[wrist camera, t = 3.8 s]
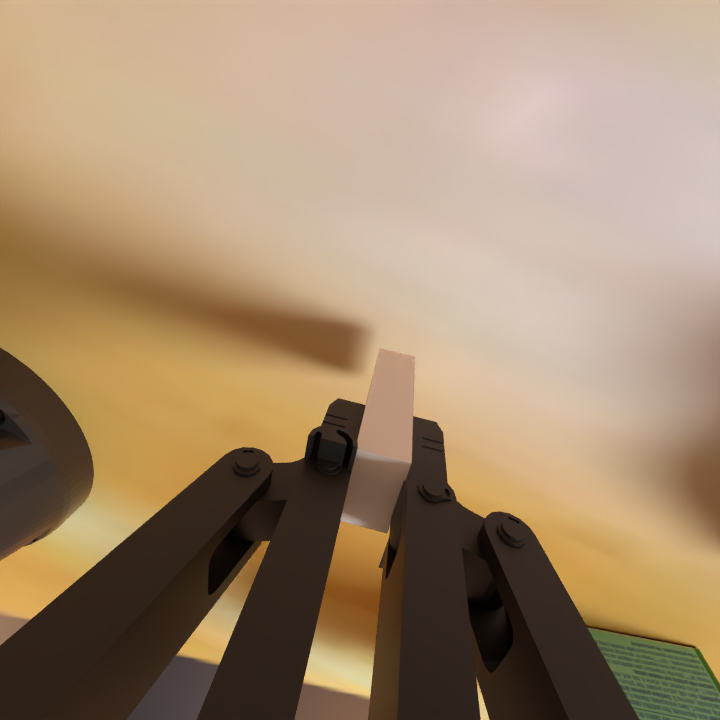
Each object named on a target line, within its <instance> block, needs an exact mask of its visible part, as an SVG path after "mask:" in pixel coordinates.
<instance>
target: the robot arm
mask: <svg viewBox="0 0 720 720" xmlns="http://www.w3.org/2000/svg"><path fill="white" fill-rule="evenodd" d="M414 369H415V357H412V356H408V355H404V354H400V353H396V352H392V351H388V350H384V349H379V353H378V357H377V361H376V365H375V369H374V373H373V377H372V381H371V385H370V389H369V393H368V397H367V401H366V405H363V404H359V403H355V402H351V401H347V400H343V399H339V398H338V399H337V400H336V401H334V402H333V403H331V404H330V405H329V408H328V410H327V413H326V415H325V418H324V420H323V423H322V425H321V426H319V427H317V428H315V429H313V430H312V431H311V433H310V434H309V435H308V441H307V447H306V452H305V458H303V459H301V460H299V461H295V462H290V463H273V461H272V459H271V458H270V456H269V455H268V454H267V453H265V452H264V451H262V450H260V449H256V448H247V447H243V448H239V449H235V450H232V451H231V452H229V453H227V454H226V455H224V456H223V457H222V458H221V459H220V460H218V461H217V462H216V463H215V464H214V465H213V466H211V467H210V468H209V469H208V470H207V471H205V472H204V473H203V474H202V475H201V476H200V477H198V478H197V479H196V480H195V481H194V482H193V483H191V484H190V485H189V486H188V487H187V488H185V489H184V490H183V491H182V492H181V493H180V494H178V495H177V496H176V497H175V498H174V499H172V500H171V501H170V502H169V503H168V504H167V505H165V506H164V507H163V508H162V509H161V510H160V511H158V512H157V513H156V514H155V515H154V516H152V517H151V518H150V519H149V520H148V521H147V522H145V523H144V524H143V525H142V526H141V527H139V528H138V529H137V530H136V531H135V532H134V533H132V534H131V535H130V536H129V537H128V538H127V539H125V540H124V541H123V542H122V543H121V544H119V545H118V546H117V547H116V548H115V549H114V550H112V551H111V552H110V553H109V554H108V555H106V556H105V557H104V558H103V559H102V560H101V561H99V562H98V563H97V564H96V565H95V566H94V567H92V568H91V569H90V570H89V571H88V572H86V573H85V574H84V575H83V576H82V577H81V578H79V579H78V580H77V581H76V582H75V583H73V584H72V585H71V586H70V587H69V588H68V589H66V590H65V591H64V592H63V593H62V594H61V595H59V596H58V597H57V598H56V599H55V600H53V601H52V602H51V603H50V604H49V605H48V606H46V607H45V608H44V609H43V610H42V611H41V612H39V613H38V614H37V615H36V616H35V617H33V618H32V619H31V620H30V621H29V622H28V623H26V624H25V625H24V626H23V627H22V628H21V629H19V631H17V632H16V633H15V634H13V635H12V636H11V637H10V638H9V639H8V640H6V641H5V642H4V643H3V644H2V645H1V646H0V720H126V719H127V718H128V717H129V716H130V714H131V713H132V712H133V710H134V709H135V708H136V706H137V705H138V704H139V702H140V701H141V700H142V698H143V697H144V696H145V695H146V693H147V692H148V690H149V689H150V688H151V687H152V685H153V684H154V683H155V681H156V680H157V679H158V678H159V676H160V675H161V674H162V672H163V671H164V670H165V668H166V667H167V666H168V665H169V663H170V662H171V661H172V659H173V658H174V657H175V655H176V654H177V653H178V651H179V650H180V649H181V648H182V646H183V645H184V644H185V642H186V641H187V640H188V638H189V637H190V636H191V634H192V633H193V632H194V631H195V629H196V628H197V627H198V625H199V624H200V623H201V621H202V620H203V619H204V617H205V616H206V615H207V614H208V612H209V611H210V610H211V608H212V607H213V606H214V604H215V603H216V602H217V600H218V599H219V598H220V597H221V595H222V594H223V593H224V591H225V590H226V589H227V587H228V586H229V585H230V584H231V582H232V581H233V580H234V578H235V577H236V576H237V574H238V573H239V572H240V570H241V569H242V568H243V567H244V565H245V564H246V563H247V561H248V560H249V559H250V557H251V556H252V555H253V553H254V552H255V551H256V550H257V548H258V547H259V546H260V544H261V542H262V541H270V543H269V546H268V548H267V551H266V553H265V555H264V558H263V560H262V563H261V565H260V568H259V570H258V572H257V575H256V577H255V580H254V582H253V585H252V587H251V589H250V592H249V594H248V597H247V599H246V602H245V604H244V606H243V609H242V611H241V614H240V616H239V619H238V621H237V623H236V626H235V628H234V631H233V633H232V636H231V638H230V640H229V643H228V645H227V648H226V650H225V652H224V655H223V657H222V660H221V662H220V665H219V667H218V669H217V672H216V674H215V677H214V679H213V682H212V684H211V687H210V689H209V691H208V694H207V696H206V699H205V701H204V704H203V706H202V709H201V711H200V713H199V716H198V718H197V720H294V719H295V714H296V710H297V705H298V701H299V697H300V693H301V689H302V684H303V680H304V676H305V671H306V667H307V663H308V658H309V654H310V650H311V645H312V641H313V637H314V632H315V628H316V624H317V619H318V615H319V611H320V606H321V602H322V598H323V593H324V589H325V585H326V581H327V576H328V572H329V568H330V563H331V559H332V555H333V550H334V546H335V542H336V537H337V533H338V529H339V524H340V521H343V522H347V523H350V524H354V525H358V526H361V527H365V528H369V529H373V530H376V531H380V532H384V533H387V532H388V529H389V527H390V536H389V540H388V542H387V545H386V548H385V551H384V554H383V557H382V559H381V562H380V565H379V568H383V575H382V585H381V595H380V605H379V615H378V625H377V635H376V645H375V655H374V666H373V676H372V686H371V696H370V706H369V716H368V720H480V710H479V701H478V692H477V683H476V676H477V679H478V682H479V686H480V689H481V692H482V696H483V699H484V702H485V706H486V709H487V712H488V716H489V719H490V720H639V718H638V716H637V714H636V713H635V711H634V709H633V707H632V706H631V704H630V702H629V700H628V699H627V697H626V695H625V693H624V691H623V690H622V688H621V686H620V684H619V683H618V681H617V679H616V677H615V676H614V674H613V672H612V670H611V668H610V667H609V665H608V663H607V661H606V660H605V658H604V656H603V654H602V653H601V651H600V649H599V647H598V645H597V644H596V642H595V640H594V638H593V637H592V635H591V633H590V631H589V630H588V628H587V626H586V624H585V622H584V621H583V619H582V617H581V615H580V614H579V612H578V610H577V608H576V607H575V605H574V603H573V601H572V600H571V598H570V596H569V594H568V592H567V591H566V589H565V587H564V585H563V584H562V582H561V580H560V578H559V577H558V575H557V573H556V571H555V569H554V568H553V566H552V564H551V562H550V561H549V559H548V557H547V555H546V554H545V552H544V550H543V548H542V546H541V545H540V543H539V541H538V539H537V538H536V536H535V534H534V533H533V532H532V530H531V529H530V528H529V526H527V525H526V524H525V523H524V522H523V521H521V520H520V519H519V518H517V517H515V516H513V515H511V514H509V513H504V512H492V513H490V514H489V515H488V516H486V518H483V517H481V516H479V515H477V514H475V513H473V512H472V511H470V510H468V509H467V508H465V507H463V506H462V505H461V504H460V503H459V502H457V500H456V496H455V493H454V491H453V489H452V488H451V487H450V486H449V485H448V483H447V472H446V461H445V453H444V451H445V450H444V445H443V444H444V439H443V432H442V430H441V429H440V427H439V426H438V424H437V422H433V421H430V420H426V419H422V418H418V417H414V416H413V401H414ZM93 476H94V469H93V461H92V456H91V453H90V449H89V446H88V444H87V441H86V439H85V436H84V434H83V432H82V430H81V428H80V426H79V425H78V423H77V421H76V420H75V418H74V417H73V415H72V414H71V412H70V411H69V409H68V408H67V407H66V405H65V404H64V403H63V402H62V400H61V399H60V398H59V397H58V396H57V394H56V393H55V392H54V391H53V390H52V389H51V388H50V387H49V386H48V385H47V384H46V383H45V382H44V381H43V380H42V379H41V378H40V377H39V376H38V375H36V374H35V373H34V372H33V371H32V370H31V369H29V368H28V367H27V366H26V365H24V364H23V363H22V362H20V361H19V360H18V359H16V358H15V357H13V356H12V355H10V354H9V353H7V352H6V351H4V350H3V349H1V348H0V561H1V560H2V559H4V558H6V557H7V556H9V555H10V554H12V553H14V552H15V551H17V550H18V549H20V548H22V547H23V546H27V545H30V544H32V543H34V542H36V541H38V540H40V539H42V538H44V537H46V536H48V535H49V534H50V533H52V532H53V531H54V530H56V529H57V528H58V527H59V526H60V525H61V524H62V523H63V522H64V521H65V520H66V519H67V518H69V517H70V516H71V515H72V514H73V513H74V512H75V511H76V510H77V509H78V508H79V507H80V506H81V505H82V504H83V503H84V502H85V500H86V499H87V497H88V495H89V493H90V491H91V488H92V484H93ZM390 524H391V525H390ZM475 672H476V674H475Z"/></svg>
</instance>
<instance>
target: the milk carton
mask: <svg viewBox="0 0 720 720" xmlns="http://www.w3.org/2000/svg"><path fill="white" fill-rule="evenodd" d="M587 628H588V630H589V631H590V633H591V635H592V637H593V638H594V640H595V642H596V644H597V645H598V647H599V649H600V651H601V653H602V654H603V656H604V658H605V660H606V661H607V663H608V665H609V667H610V668H611V670H612V672H613V674H614V676H615V677H616V679H617V681H618V683H619V684H620V686H621V688H622V690H623V691H624V693H625V695H626V697H627V699H628V700H629V702H630V704H631V706H632V707H633V709H634V711H635V713H636V714H637V716H638V718H639V720H720V684H719V682H718V680H717V678H716V677H715V675H714V673H713V672H712V670H711V668H710V667H709V665H708V663H707V662H706V660H705V658H704V657H703V655H702V653H701V652H700V650H699V649H697V648H692V647H687V646H682V645H677V644H671V643H666V642H661V641H656V640H651V639H646V638H640V637H635V636H630V635H625V634H620V633H614V632H609V631H604V630H599V629H594V628H589V627H587Z"/></svg>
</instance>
